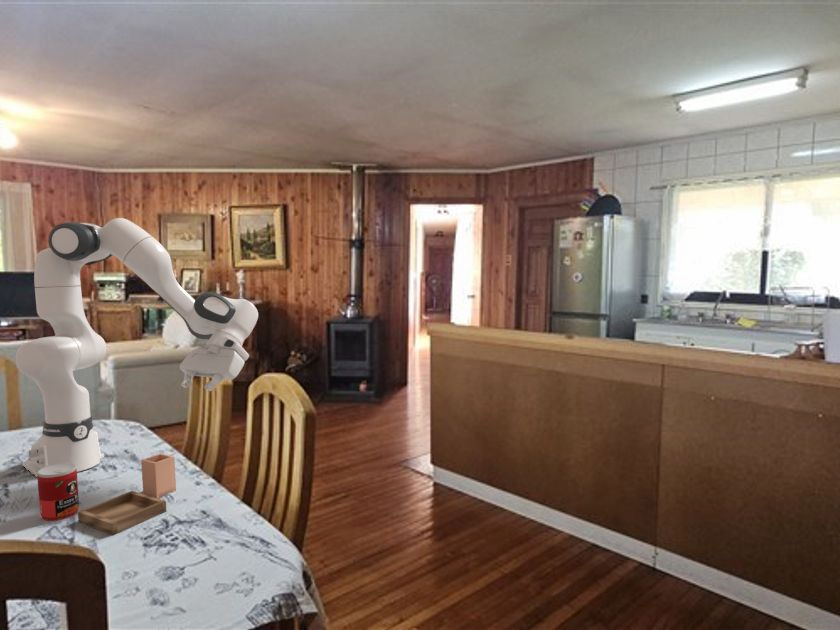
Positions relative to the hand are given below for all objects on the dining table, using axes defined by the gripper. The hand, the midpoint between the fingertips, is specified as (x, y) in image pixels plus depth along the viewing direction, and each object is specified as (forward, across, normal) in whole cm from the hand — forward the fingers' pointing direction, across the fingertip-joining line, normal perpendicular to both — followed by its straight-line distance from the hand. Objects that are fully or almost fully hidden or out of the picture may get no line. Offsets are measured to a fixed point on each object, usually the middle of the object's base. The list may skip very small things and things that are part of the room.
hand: (195, 388), depth 148 cm
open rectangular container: (+26, 0, +9) cm, 28 cm away
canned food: (+40, -10, -5) cm, 41 cm away
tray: (+36, +5, 0) cm, 36 cm away
